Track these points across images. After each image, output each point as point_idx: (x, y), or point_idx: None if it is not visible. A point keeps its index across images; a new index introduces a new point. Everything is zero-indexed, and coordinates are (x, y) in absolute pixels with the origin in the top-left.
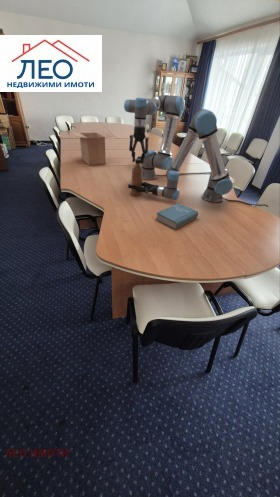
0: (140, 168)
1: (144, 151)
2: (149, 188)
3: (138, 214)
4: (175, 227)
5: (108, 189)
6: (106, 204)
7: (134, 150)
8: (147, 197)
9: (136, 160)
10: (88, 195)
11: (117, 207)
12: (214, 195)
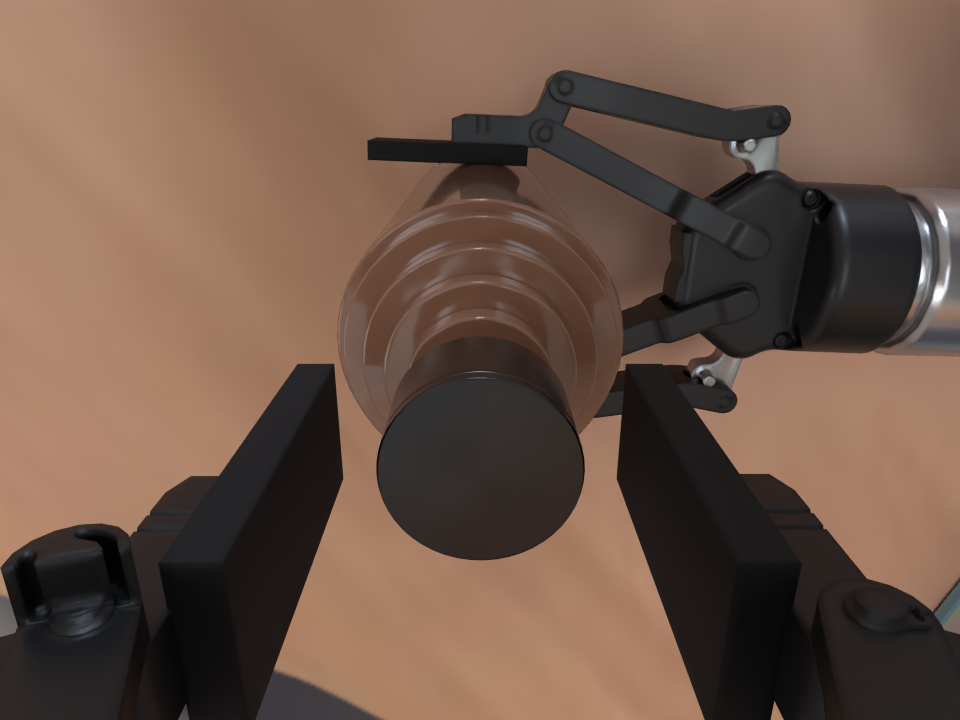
0: (582, 406)
1: (897, 701)
2: (737, 323)
3: None
4: None
5: (71, 292)
6: (328, 639)
7: (135, 635)
8: (664, 258)
9: (459, 546)
10: None
11: (457, 642)
12: None
